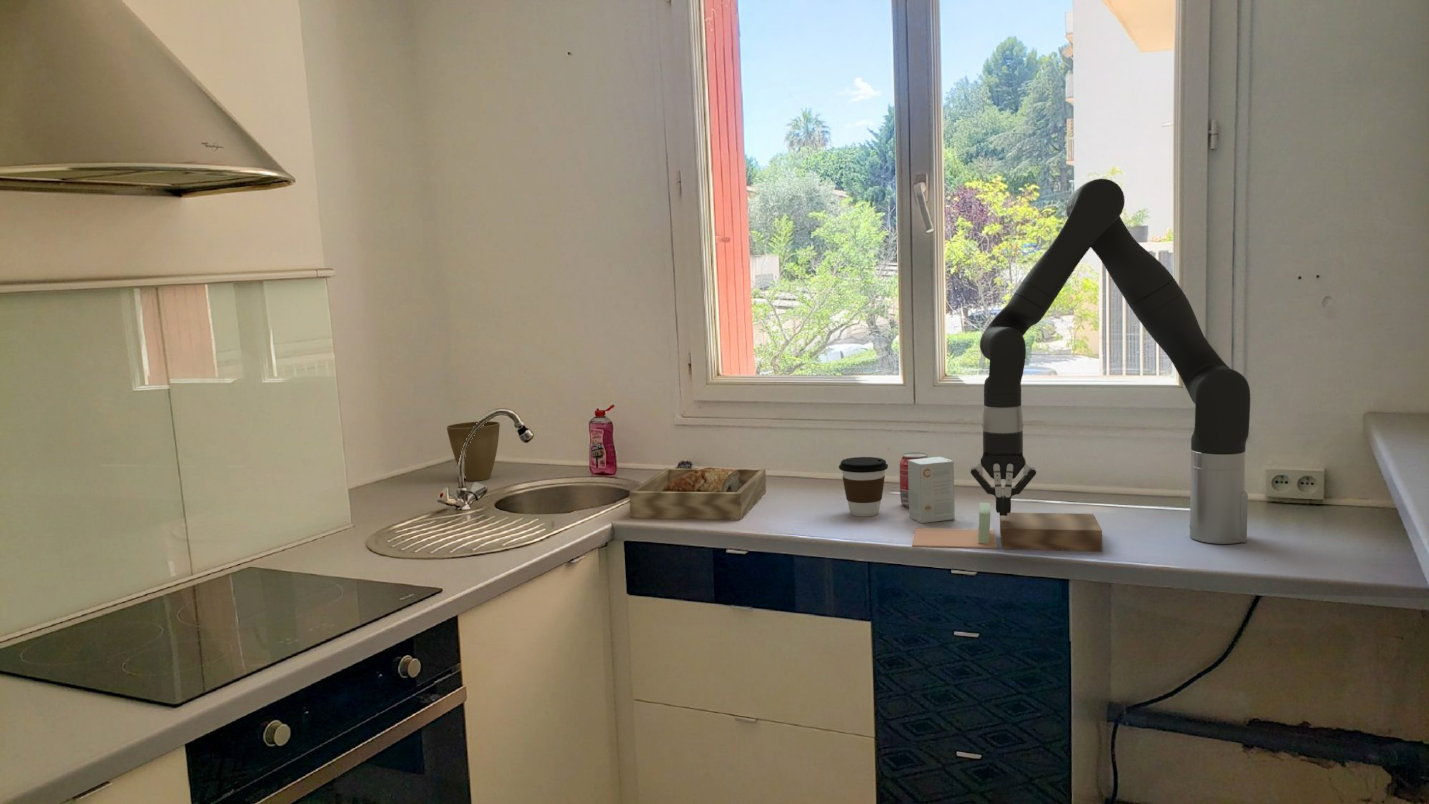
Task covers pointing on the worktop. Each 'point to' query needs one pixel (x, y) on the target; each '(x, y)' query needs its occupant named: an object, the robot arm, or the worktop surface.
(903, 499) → the soda can
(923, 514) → the small box
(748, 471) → the bread crate
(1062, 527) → the board
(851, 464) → the coffee cup
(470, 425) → the plant pot
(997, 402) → the robot arm
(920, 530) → the mat
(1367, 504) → the worktop surface
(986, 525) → the pale green foam block
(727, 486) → the bread
